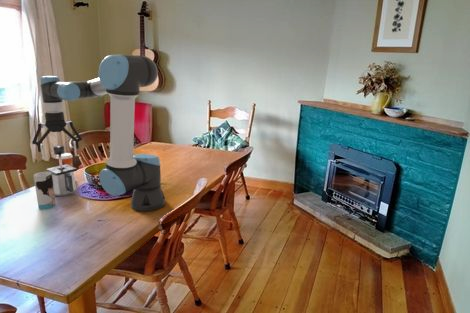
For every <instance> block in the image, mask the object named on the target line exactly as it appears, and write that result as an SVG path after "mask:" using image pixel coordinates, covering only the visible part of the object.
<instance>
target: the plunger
mask: <svg viewBox="0 0 470 313" xmlns="http://www.w3.org/2000/svg"><path fill="white" fill-rule="evenodd" d="M52 149H53V155H56V156H57V155H58V157H59V165H60V170H62V169H63V165H62V158H61V154H64V153H66V151H65V146H64V145H54V146H53V148H52Z"/></svg>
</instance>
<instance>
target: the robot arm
mask: <svg viewBox="0 0 470 313" xmlns="http://www.w3.org/2000/svg"><path fill="white" fill-rule="evenodd" d="M158 75H159V69H158V67H157V64H156V63H155V61H154V60H152V59H151V58H150V57H148V56H146V55H141V54H139V55H137V54H136V55H134V54H133V55H132V54H110V55H107V56H105V57H104V59H102V61H101V62H100V63H99V68H98V77H97V78H94V79H90V80H85V81H84V80H83V81H61V80H60V77H59V76H55V75H44V76H41V77H40V78H39V80H40V81H39V82H40V90H41V97H42V103H43V110H44V117H45V118H44V120H45V122H43V123H42V122H38V124H37V130H36V132H35V135H34V136H33V139H32V142H31V144H32V145H36V146H37V152H39V153H40V154H41V160H45V155H44V154H45V153H44V146H43V141H45V139H46V138H47V136H48V135H49V134H50V133H61V132H63V133H65V134H66V135H67V136H68V137H69V138H71V140H73V149H74V156H75V157H78V154H77V153H78V152H77V149H79V147H80V146H79V141H80V142H81V141H83V138H82V136H81V135H80V133H79V132H78V130H77V129H76V127H75V126H74V125H73V121H72V120H70V121H66V120H65V113H64V103H63V101H66V102H69V101H73V102H74V101H76V100H81V99H92V98H94V99H96V98H97V99H98V98H101V97H104V96H105V95H109V97H110V105H109V106H110V107H109V108H110V110H109V112H110V113H109V114H110V117H109V119H110V120H109V122H110V124H109V126H110V127H109V130H110V132H109V135H110V138H109V144H110V145H109V157H108V158H107V159H106V160H105V168H102V169H101V170H100V172H99V173H98V174H99V175H98V176H99V177H98V178H99V183H100V185H101V187H102V188H103V190H104V191H105V192H106V193H107V194H108V195H110V196H112V197H113V196H114V197H117V196H120V195H125V194H126V193H129V192H131V191H132V195H131V196H132V197H131V199H130V208H132V209H133V210H134V211H138V212H152V211H153V212H154V211H157V210H160V209H162V208H163V207H164V206H166V197H165V194H164V192H163V189H162V182H161V181H162V179H161V178H162V177H161V160H160V157H159V156H158V155H155V154H150V153H136V154H134V139H135V137H134V136H135V134H134V133H135V108H136V106H135V105H136V99H137V97H139V96H140V89H141V88H145V87H149V86H151V85H153V84H154V83H155V82H156V81H157V78H158ZM66 126H68V127H70V128H71V130H72V132H73V133H74V134H75V136H76V137H75V136H74V135H73V134H72V133H71V132H70V131H69V130H67V129H66ZM44 127H45V128H47V129H46V131H45V132H44V133H43V135H42V136H40V133H41V130H42V129H43V128H44ZM39 136H40V138H39ZM38 138H39V140H38ZM37 140H38V141H37Z"/></svg>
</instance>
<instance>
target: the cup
mask: <svg viewBox="0 0 470 313" xmlns="http://www.w3.org/2000/svg"><path fill="white" fill-rule="evenodd" d="M33 182H34V186H35V188H34V189H35V193H36V201H37V206H38V209H39V210H41V211H45V210H47V211H48V210H51V209H52V210H53V208H55V207H57V202H56V200H57V199H56V197H55V193H54V185H53V178H52V173H51V172H47V171H40V172H36V173H34V174H33Z"/></svg>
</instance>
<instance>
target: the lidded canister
mask: <svg viewBox="0 0 470 313" xmlns="http://www.w3.org/2000/svg"><path fill="white" fill-rule="evenodd" d="M76 171H78V169H77V168H76V167H74V166H73V167H72V166H70V165H67V164H66V165H63V169H62V170H60V166H58V165H57V166H53V167H49V168H46V169H45V172H51V173H52V178H53V185H54V193H55V198H62V197H63V198H65V197H70V196H73V195H74V194H76V193H77V188H76V182H75V172H76Z"/></svg>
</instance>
